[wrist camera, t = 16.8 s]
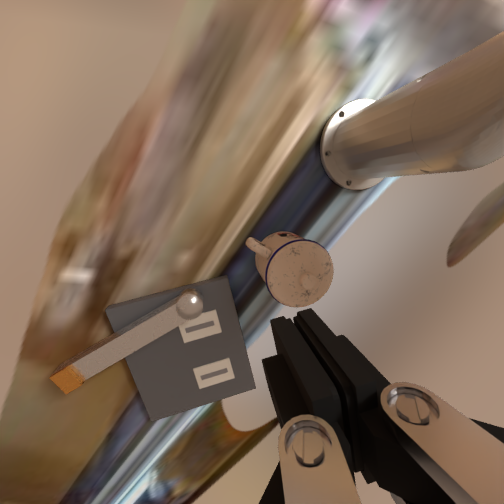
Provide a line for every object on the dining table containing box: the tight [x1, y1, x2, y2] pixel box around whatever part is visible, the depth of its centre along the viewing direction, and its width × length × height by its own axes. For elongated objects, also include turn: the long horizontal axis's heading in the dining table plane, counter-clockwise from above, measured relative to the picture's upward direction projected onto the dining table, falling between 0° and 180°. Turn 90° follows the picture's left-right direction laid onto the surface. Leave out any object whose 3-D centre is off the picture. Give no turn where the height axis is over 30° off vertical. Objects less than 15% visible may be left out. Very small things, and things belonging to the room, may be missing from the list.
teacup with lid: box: [246, 231, 333, 307], centre depth 34 cm, size 12×9×12 cm
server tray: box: [105, 275, 256, 422], centre depth 40 cm, size 18×21×2 cm
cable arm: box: [50, 288, 203, 394], centre depth 35 cm, size 22×4×3 cm, turn 118°
